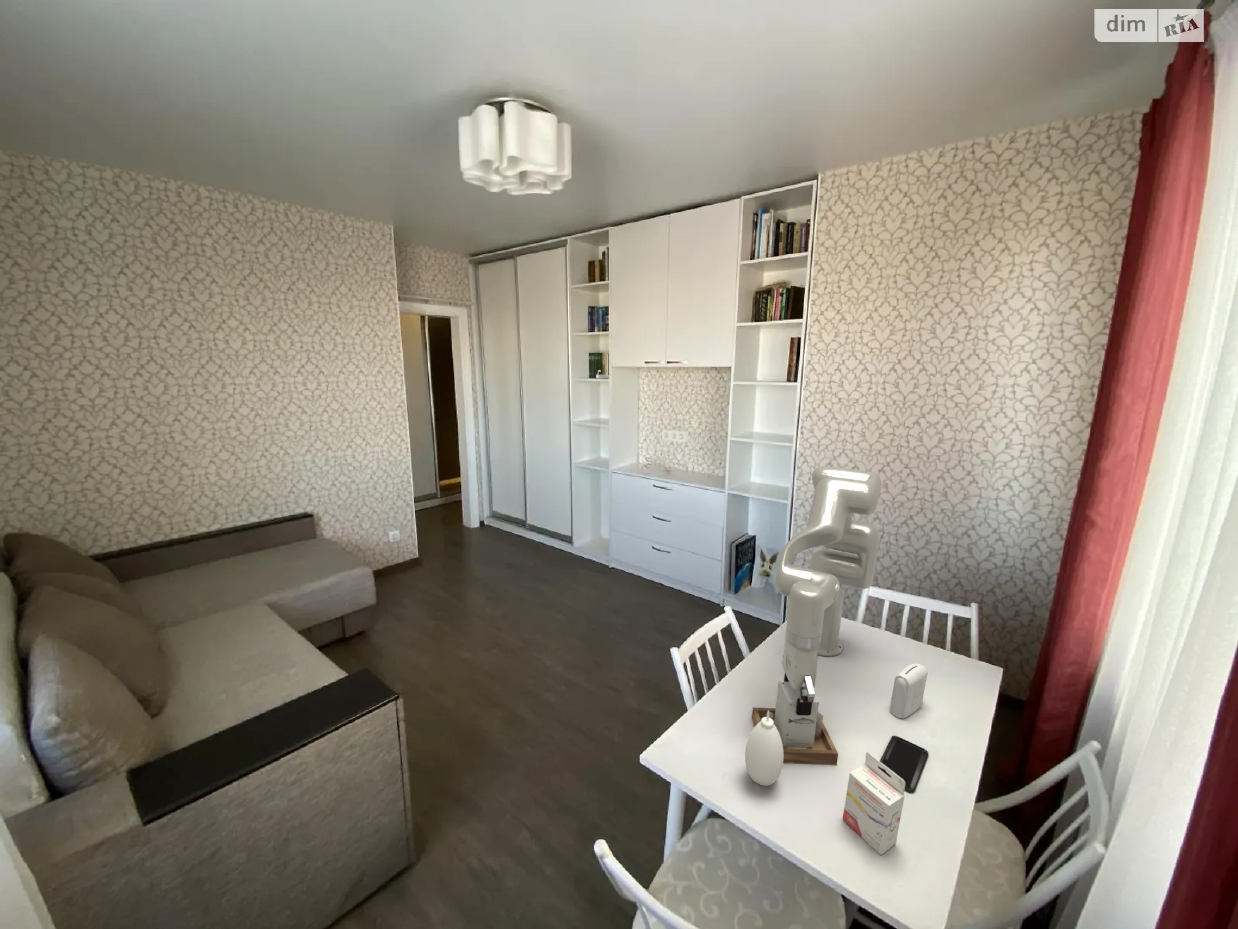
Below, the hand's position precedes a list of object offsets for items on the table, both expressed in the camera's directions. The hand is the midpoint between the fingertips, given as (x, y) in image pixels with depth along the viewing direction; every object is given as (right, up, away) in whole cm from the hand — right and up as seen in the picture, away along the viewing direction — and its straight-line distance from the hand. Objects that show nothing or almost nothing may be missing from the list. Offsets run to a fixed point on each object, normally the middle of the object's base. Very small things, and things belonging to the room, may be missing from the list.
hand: (796, 699), depth 119 cm
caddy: (-1, -11, +2) cm, 11 cm away
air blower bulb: (-11, -14, -9) cm, 20 cm away
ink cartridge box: (+7, -17, -21) cm, 27 cm away
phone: (+22, -13, -4) cm, 26 cm away
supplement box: (0, -10, +2) cm, 10 cm away
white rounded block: (+33, -9, +13) cm, 36 cm away
